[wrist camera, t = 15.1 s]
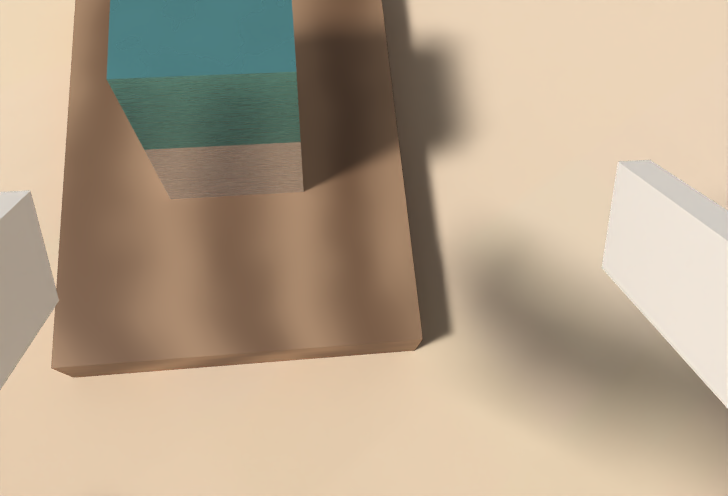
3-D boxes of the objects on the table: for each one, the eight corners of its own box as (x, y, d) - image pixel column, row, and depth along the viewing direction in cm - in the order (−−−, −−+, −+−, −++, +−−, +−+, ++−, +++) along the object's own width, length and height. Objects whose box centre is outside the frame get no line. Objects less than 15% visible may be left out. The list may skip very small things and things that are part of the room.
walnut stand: (373, -8, 44) (376, -42, 41) (414, 350, 36) (422, 339, 33) (94, 0, 42) (77, -34, 39) (73, 377, 34) (51, 368, 31)
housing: (296, 80, 37) (286, -73, 27) (303, 191, 35) (296, 71, 25) (171, 85, 37) (113, -69, 27) (170, 199, 35) (106, 79, 24)
